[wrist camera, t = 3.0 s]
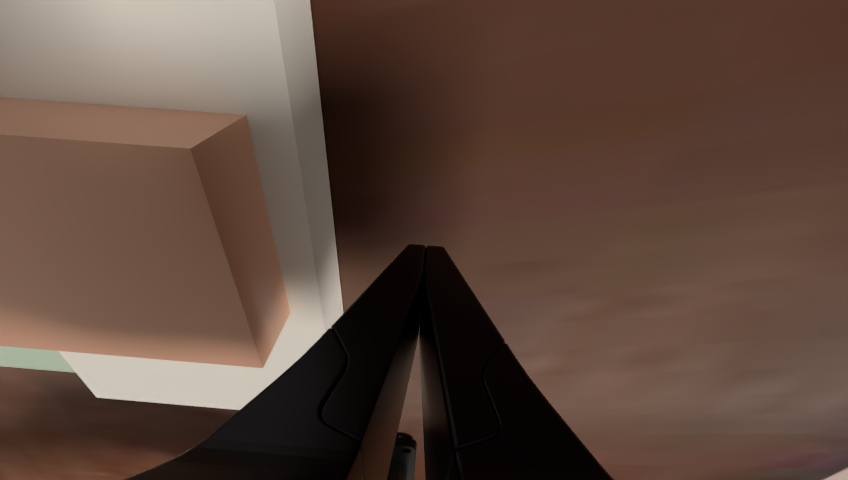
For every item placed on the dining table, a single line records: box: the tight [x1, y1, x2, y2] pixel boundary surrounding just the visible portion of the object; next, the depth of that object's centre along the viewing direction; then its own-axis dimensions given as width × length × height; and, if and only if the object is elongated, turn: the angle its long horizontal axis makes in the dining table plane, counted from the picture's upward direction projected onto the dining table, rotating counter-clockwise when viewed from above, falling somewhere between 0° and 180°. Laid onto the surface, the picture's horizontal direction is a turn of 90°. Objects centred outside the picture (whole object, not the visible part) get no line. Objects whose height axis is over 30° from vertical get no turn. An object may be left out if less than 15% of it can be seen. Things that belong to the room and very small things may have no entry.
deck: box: [0, 0, 343, 410], centre depth 10 cm, size 18×10×2 cm, turn 177°
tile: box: [0, 97, 291, 368], centre depth 9 cm, size 6×8×2 cm
